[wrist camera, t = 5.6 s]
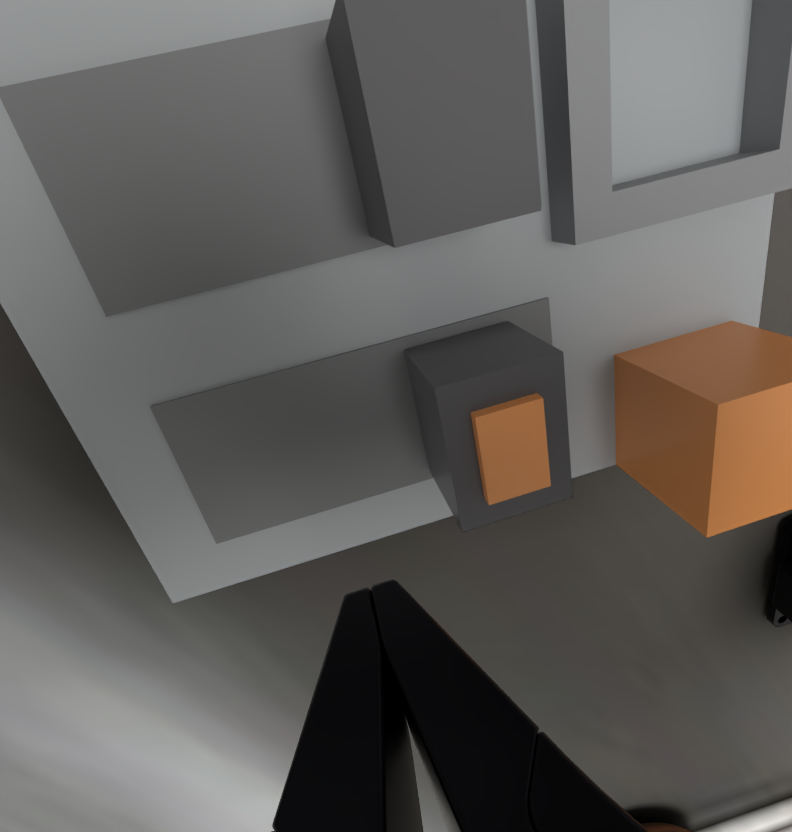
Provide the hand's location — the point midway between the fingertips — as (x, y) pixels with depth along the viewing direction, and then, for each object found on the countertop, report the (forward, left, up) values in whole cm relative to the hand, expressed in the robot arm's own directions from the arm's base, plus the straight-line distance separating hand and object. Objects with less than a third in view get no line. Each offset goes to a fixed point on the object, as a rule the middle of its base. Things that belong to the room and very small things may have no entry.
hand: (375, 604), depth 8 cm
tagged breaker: (-4, 0, -7) cm, 8 cm away
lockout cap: (-11, +2, -7) cm, 13 cm away
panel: (-4, -4, -8) cm, 10 cm away
